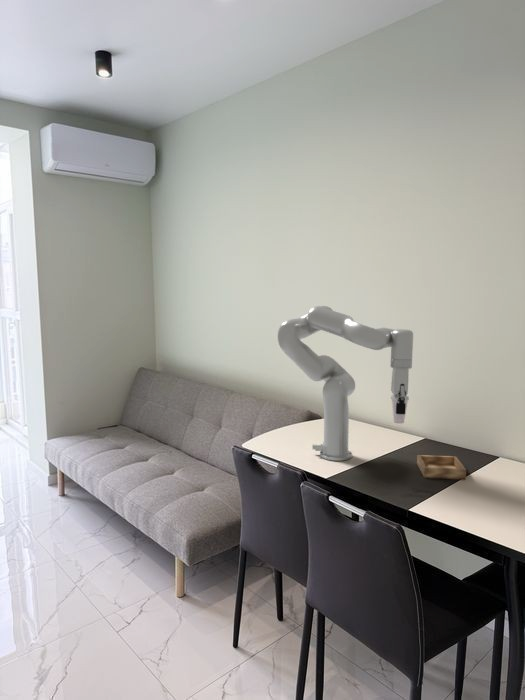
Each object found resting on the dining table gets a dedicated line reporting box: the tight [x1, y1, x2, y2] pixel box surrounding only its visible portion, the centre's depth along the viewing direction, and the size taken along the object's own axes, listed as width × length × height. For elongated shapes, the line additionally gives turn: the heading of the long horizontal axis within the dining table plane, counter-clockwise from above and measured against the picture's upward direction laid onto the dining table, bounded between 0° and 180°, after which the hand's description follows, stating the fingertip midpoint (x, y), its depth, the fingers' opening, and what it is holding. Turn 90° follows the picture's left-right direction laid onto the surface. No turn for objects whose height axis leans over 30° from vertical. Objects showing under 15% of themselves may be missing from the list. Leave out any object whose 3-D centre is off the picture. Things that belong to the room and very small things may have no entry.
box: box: [416, 454, 467, 480], centre depth 182 cm, size 14×14×4 cm
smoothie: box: [390, 394, 410, 425], centre depth 186 cm, size 6×6×14 cm
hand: (399, 411), depth 186 cm, fingers closed on smoothie, 6 cm apart
